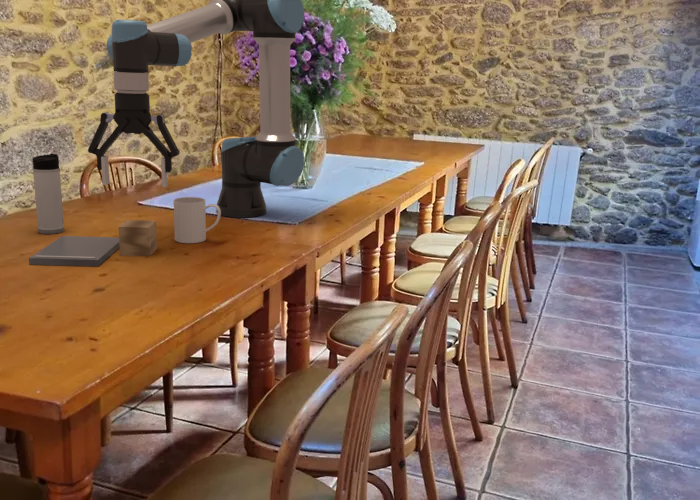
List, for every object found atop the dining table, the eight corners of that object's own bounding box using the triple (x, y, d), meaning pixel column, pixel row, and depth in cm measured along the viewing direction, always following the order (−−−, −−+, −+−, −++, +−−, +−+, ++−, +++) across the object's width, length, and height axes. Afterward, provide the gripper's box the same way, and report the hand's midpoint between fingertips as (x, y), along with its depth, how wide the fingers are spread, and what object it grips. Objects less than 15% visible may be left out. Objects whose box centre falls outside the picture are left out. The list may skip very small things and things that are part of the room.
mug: (169, 242, 174) (168, 201, 171) (182, 235, 181) (181, 196, 178) (214, 246, 171) (214, 205, 169) (226, 239, 179) (225, 199, 176)
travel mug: (70, 230, 181) (65, 154, 176) (52, 235, 175) (46, 157, 170) (51, 227, 183) (45, 152, 178) (32, 232, 177) (26, 155, 172)
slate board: (123, 243, 171) (123, 236, 170) (98, 266, 151) (97, 259, 151) (62, 241, 170) (62, 235, 169) (29, 264, 151) (28, 257, 150)
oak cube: (157, 248, 168) (156, 220, 166) (150, 256, 161) (148, 227, 159) (128, 247, 167) (126, 219, 165) (119, 255, 161) (118, 226, 159)
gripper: (190, 93, 158) (192, 184, 164) (81, 89, 157) (86, 180, 163) (184, 95, 151) (186, 189, 157) (69, 90, 150) (75, 185, 156)
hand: (135, 185), depth 160 cm, fingers open, 13 cm apart
